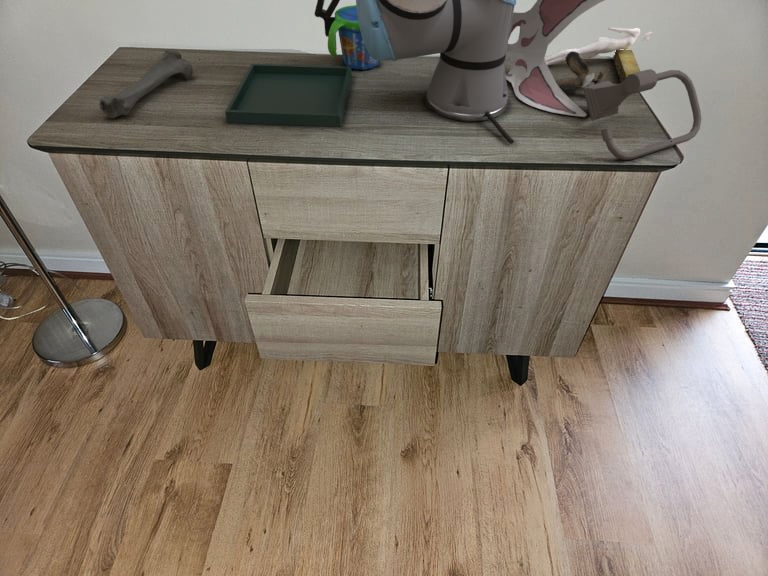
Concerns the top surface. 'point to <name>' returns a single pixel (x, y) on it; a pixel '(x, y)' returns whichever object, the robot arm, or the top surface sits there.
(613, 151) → the toilet paper hanger
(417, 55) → the robot arm
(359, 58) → the sippy cup
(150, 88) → the bone
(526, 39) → the mask
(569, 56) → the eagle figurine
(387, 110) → the top surface
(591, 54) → the figurine
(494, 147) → the top surface
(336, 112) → the tray
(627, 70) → the decorative block
